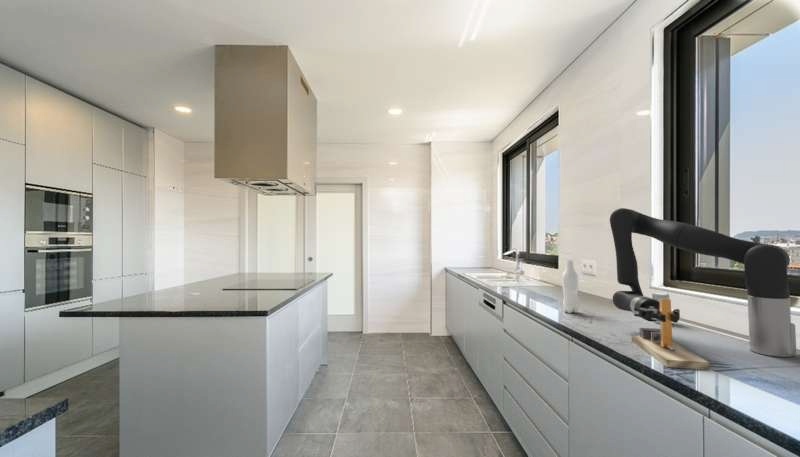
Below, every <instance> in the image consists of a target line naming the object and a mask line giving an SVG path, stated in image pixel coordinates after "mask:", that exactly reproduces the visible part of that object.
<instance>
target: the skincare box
mask: <svg viewBox="0 0 800 457" xmlns="http://www.w3.org/2000/svg"><path fill="white" fill-rule="evenodd" d="M651 297H652V299H654V300H657V301H659V298H662V299H670V294H669V293H664V292H656V293H652V296H651ZM659 302H660V301H659ZM653 323H655V324H660V320H658V321H654V322H653Z"/></svg>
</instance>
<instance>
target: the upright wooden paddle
mask: <svg viewBox="0 0 800 457" xmlns="http://www.w3.org/2000/svg"><path fill="white" fill-rule="evenodd" d="M659 301H660V313H662V314H664V315H665V316H666V322H662V321H660V326H659V327H660V328H659V329H660V330H661V332H651V342H661V346H662V347H666V348H669V349H670V350H672V351H675V348H674V347H672V341H673V328H672V327H673V326H672V321H671V311H672V299H671V298H669V299H662V298H659ZM654 334H659V335H661V340H654Z"/></svg>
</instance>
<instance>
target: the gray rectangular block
mask: <svg viewBox="0 0 800 457" xmlns="http://www.w3.org/2000/svg"><path fill="white" fill-rule="evenodd" d="M651 332H661V330H660V328H656V327H654V328H649V327H639V336H640V337H641V338H643V339H651ZM654 340H661V335H659V334H654Z"/></svg>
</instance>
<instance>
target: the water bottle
mask: <svg viewBox="0 0 800 457" xmlns="http://www.w3.org/2000/svg"><path fill="white" fill-rule="evenodd" d="M561 282H562V292H563V302H562V308H563V312H565V313H568V314H572V313H574V314H577V313H578V312H579V309H580V303H579V299H578V298H579V297H578V295H579V293H578V292H579V276H578V273H577V272H576V270H575V268H574V261H573V260H570V259H567V260H566V261H565V269H564V270H563V273H562V276H561Z"/></svg>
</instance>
